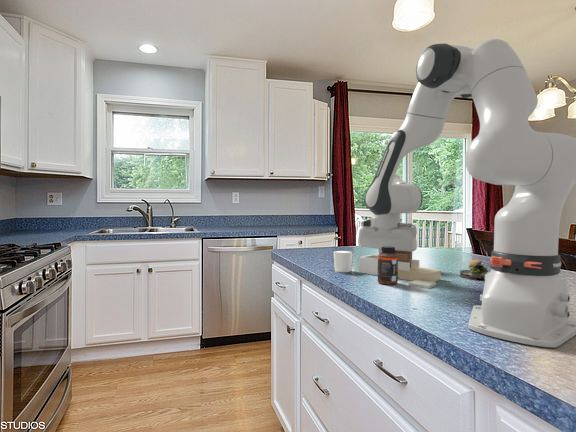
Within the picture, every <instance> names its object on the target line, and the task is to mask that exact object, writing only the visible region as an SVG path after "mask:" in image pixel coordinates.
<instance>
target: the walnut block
mask: <svg viewBox="0 0 576 432" xmlns="http://www.w3.org/2000/svg"><path fill="white" fill-rule="evenodd" d="M395 253H396V254H397V255H398V261H399V262H407V263H410V268H411V258H412V259H413V252H412V253H410V252H400V251H396V252H395Z"/></svg>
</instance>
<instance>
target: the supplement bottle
mask: <svg viewBox="0 0 576 432" xmlns="http://www.w3.org/2000/svg"><path fill="white" fill-rule="evenodd" d="M381 250H382V252H381V253H379V252H378V254H377V255H378V275H377V283H379V284H380V285H387V286H389V285H390V286H391V285H392V286H394V285H397V284H398V280H399V279H398V255H397V254H396V253H395V247H394V246H382V247H381Z"/></svg>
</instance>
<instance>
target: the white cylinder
mask: <svg viewBox="0 0 576 432" xmlns="http://www.w3.org/2000/svg"><path fill="white" fill-rule="evenodd" d="M332 252H333V262H334V263H333V265H334V271H335V272H337V273H351V270H352V262H353V251H350V250H336V251H332Z"/></svg>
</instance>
